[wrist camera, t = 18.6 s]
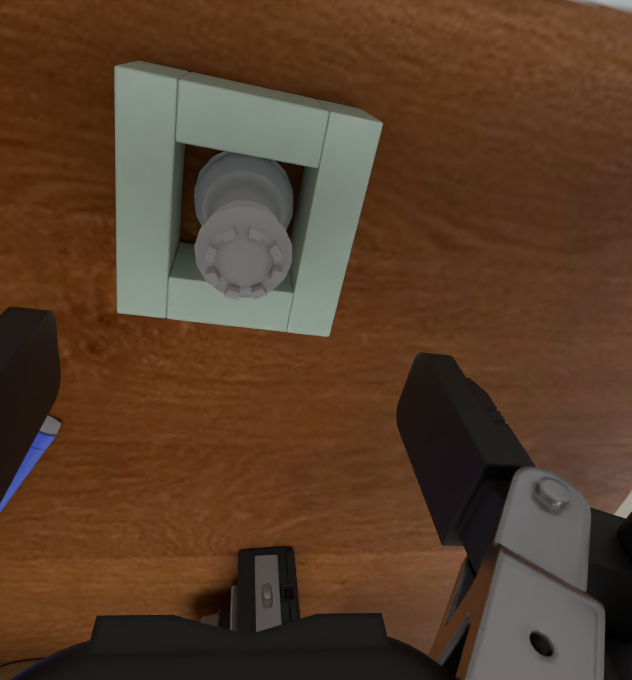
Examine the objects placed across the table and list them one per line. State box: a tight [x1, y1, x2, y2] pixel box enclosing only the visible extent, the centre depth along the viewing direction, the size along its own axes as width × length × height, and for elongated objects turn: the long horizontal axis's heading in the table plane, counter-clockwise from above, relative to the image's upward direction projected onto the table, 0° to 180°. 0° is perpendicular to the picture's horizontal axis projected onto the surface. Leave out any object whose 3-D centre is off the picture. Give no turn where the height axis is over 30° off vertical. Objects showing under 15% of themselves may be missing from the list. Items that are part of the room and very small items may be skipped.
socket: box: [114, 61, 383, 337], centre depth 20 cm, size 9×9×4 cm
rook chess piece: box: [194, 151, 293, 301], centre depth 19 cm, size 4×4×8 cm
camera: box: [200, 547, 300, 633], centre depth 35 cm, size 14×8×10 cm, turn 175°
